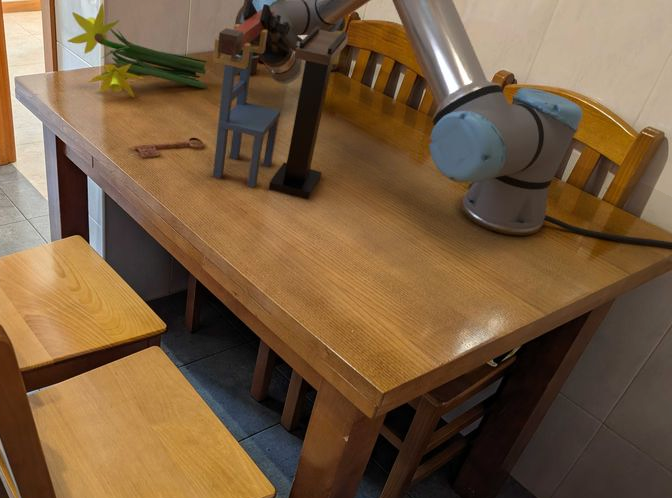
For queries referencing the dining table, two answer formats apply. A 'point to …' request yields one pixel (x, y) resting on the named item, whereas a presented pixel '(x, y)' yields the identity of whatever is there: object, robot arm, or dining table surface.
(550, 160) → the robot arm
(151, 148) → the key
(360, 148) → the dining table surface
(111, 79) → the daffodil flowers
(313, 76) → the stand
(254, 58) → the beer bottle
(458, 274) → the dining table surface
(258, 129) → the chair
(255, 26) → the hanger bar
